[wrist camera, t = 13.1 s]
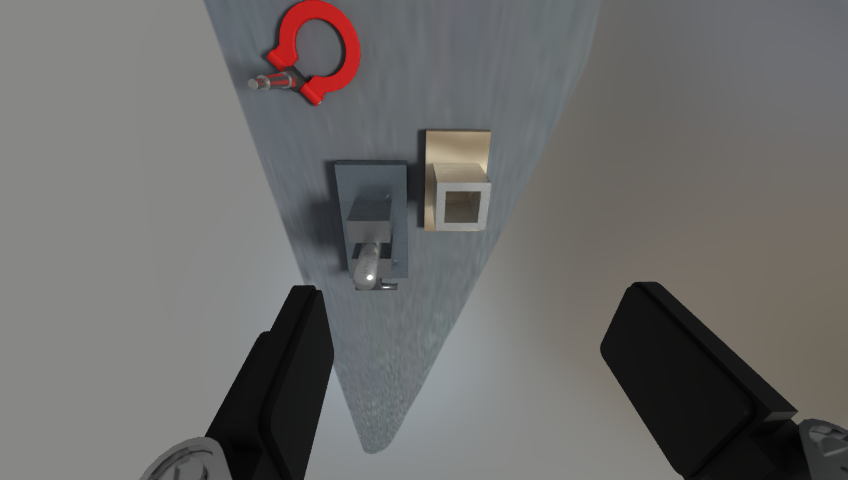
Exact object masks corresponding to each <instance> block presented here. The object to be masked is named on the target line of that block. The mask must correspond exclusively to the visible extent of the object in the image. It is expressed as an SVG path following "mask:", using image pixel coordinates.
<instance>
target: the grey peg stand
mask: <svg viewBox="0 0 848 480" xmlns="http://www.w3.org/2000/svg"><path fill="white" fill-rule="evenodd" d="M334 166H335V173H336V180H337V188H338V195H339V202H340V210H341V217H342V224H343V232H344V239H345V247H346V254H347V261H348V269H349V276H350V278H353V284H354V285H355V287H356V290H397V283H382V278H408V243H407V161H382V160H337V162H336V163H335V165H334Z"/></svg>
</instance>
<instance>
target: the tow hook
mask: <svg viewBox="0 0 848 480" xmlns="http://www.w3.org/2000/svg"><path fill="white" fill-rule="evenodd" d="M312 19H323V20H326V21H328V22H330V23H331V24H333V25H334V26H335V27H336V28H337V29H338V30H339V32H340V34H341V35H342V37H343V40H344V43H345V48H346V57H345V62H344V64H343V67H342V68H341V69H340V70H339V72H337V73H336V74H335V75H333V76H330V77H320V76H313V78H312V79H311V80H310V81H308V80H307V79H306V78H305V77H304V76H303V75H302V74H301V73H300V72H299V71H298V70H297V69H296V68H295V67H294V66H293V65H294V63H295V62H296V61H297V60H298V54H297V51H296V45H295V44H296V36H297V33H298V30H299V29H300V27H301V26H302V25H303V24H304V23H305V22H307V21H309V20H312ZM267 59H268V60H269V61H270V62H271V63H272V64H273V65H274V66H275V67H276V68H277V69H278V70H279V71H280V73H277V74H270V75H259V76H257V78H254V79H249V80H248V86H249V87H250V88H251V89H254V90H255V89H261V90H264V91H266V90H271V89H277V88H283V89H286V88H291V89H292V90H293V91H294V92H299V91H301V92H302V93H303V94H304V95H305V96H306V97H307V98H308V99H309V100H310V101H311V102H312V103H313V104H314V105H315V106H317V105H319V104H320V103H321V102H322V100H323V98H324V97H323V96H324V95H325V93H326V92H332V91H335V90H338V89H341V88H343V87H344V86H346V85H347V84H348V83H349V82H350V81H351V80H352V79H353V77H354V76H355V74H356V72H357V69H358V67H359V62H360V44H359V40H358V37H357V34H356V31H355V29H354V28H353V26H352V24H351V22H350V21H349V20H348V19H347V17H346V16H345V15H344V14H343V13H342V12H341V11H340V10H338V9H337V8H335V7H334V6H332V5H331V4H329V3H326V2H323V1H320V0H307V1H304V2H301V3H298V4H296V5H295V6H294V7H292V8H291V9H290V10H289V11H288V13H287V14H286V16H285V17H284V19H283V21H282V24H281V28H280V34H279V45H278V47H277V48H276V49H273V50H272V51H271V52H270V53H269V54H268V56H267Z"/></svg>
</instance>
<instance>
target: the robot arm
mask: <svg viewBox="0 0 848 480" xmlns="http://www.w3.org/2000/svg"><path fill="white" fill-rule="evenodd" d="M600 351H601V355H602V357H603V359H604V360H605V361H606V363H607V365H608V366H609V368H610V369H611V371H612V373H613V374H614V376H615V377H616V379H617V381H618V382H619V384H620V385H621V387H622V389H623V390H624V392H625V393H626V395H627V396H628V398H629V400H630V401H631V403H632V404H633V406H634V407H635V409H636V411H637V412H638V414H639V415H640V417H641V418H642V420H643V422H644V423H645V425H646V426H647V428H648V430H649V431H650V433H651V434H652V436H653V437H654V439H655V441H656V442H657V444H658V445H659V447H660V448H661V450H662V452H663V453H664V455H665V456H666V458H667V460H668V461H669V463H670V464H671V466H672V467H673V468H674V470H675V471H676V472H677V473H678V474H680V475H682V476H683V478H684V480H848V430H846V429H844V428H842V427H840V426H838V425H835V424H832V423H830V422H827V421H824V420H818V419H813V418H812V419H805V420H803V421H802V422H800V423H799V424H798V425H797V424H795V423H794V422H793V421H792V420H791V419H790V418H792V417H793V416H794V415H795V414H796V413H797V412H798V411H797V410H796V409H795V408H794V407H793V406H792V405H791V404H790V403H789V402H788V401H787V400H786V399H784V398H783V397H782V396H781V395H780V394H779V393H778V392H777V391H776V390H775V389H774V388H772V387H771V386H770V385H769V384H768V383H767V382H766V381H765V380H764V379H763V378H762V377H761V376H759V375H758V374H757V373H756V372H755V371H754V370H753V369H752V368H751V367H750V366H749V365H748V364H746V363H745V362H744V361H743V360H742V359H741V358H740V357H739V356H738V355H737V354H736V353H735V352H733V351H732V350H731V349H730V348H729V347H728V346H727V345H726V344H725V343H724V342H723V341H722V340H720V339H719V338H718V337H717V336H716V335H715V334H714V333H713V332H712V331H710V329H709V328H707V327H706V326H705V325H704V324H703V323H702V322H701V321H700V320H699V319H698V318H696V317H695V316H694V315H693V314H692V313H691V312H690V311H689V310H688V309H687V308H686V307H685V306H684V305H682V304H681V303H680V302H679V301H678V300H677V299H676V298H675V297H674V296H673V295H672V294H671V293H669V292H668V291H667V290H666V289H665V288H664V287H663V286H662V285H661V284H659V283H657V282H635V283H633V284H632V285H631V286H630V287H628V288H627V289H626V291H625V293H624V296H623V298H622V300H621V302H620V304H619V306H618V309H617V311H616V313H615V315H614V317H613V319H612V321H611V324H610V326H609V328H608V330H607V332H606V334H605V337H604V339H603V341H602V343H601V346H600ZM333 360H334V348H333V343H332V338H331V333H330V328H329V323H328V318H327V313H326V308H325V303H324V298H323V294H322V291H321V290H316V287H315V286H314V285H303V286H302V285H297V286H296V285H295V286H293V287H292V289H291V291H290V293H289V294H288V297H287V299H286V300H285V302H284V304H283V306H282V308H281V310H280V312H279V314H278V316H277V318H276V320H275V322H274V324H273V326H272V328H271V330H270V331H266V332H263V333H261V334H260V335H259V337H258V338H257V340H256V342H255V343H254V345H253V347H252V349H251V351H250V353H249V355H248V356H247V358H246V360H245V362H244V364H243V366H242V368H241V370H240V371H239V373H238V375H237V377H236V379H235V381H234V383H233V384H232V386H231V388H230V390H229V392H228V394H227V395H226V397H225V399H224V401H223V403H222V405H221V407H220V408H219V410H218V412H217V414H216V416H215V418H214V420H213V422H212V423H211V425H210V427H209V429H208V431H207V433H206V435H205V437H197V438H192V439H188V440H185V441H183V442H181V443H179V444H177V445H175V446H173V447H172V448H170V449H169V450H167V451H166V452H165V453H163V454H162V455H160V456H159V457H158V458H157V459H156V460H155V461H154V462H153V463H152V464H151V465H150V466H149V467H148V468H147V470H146V471H145V472H144V474H143V475H142V477H141V478H140V480H304V476H305V472H306V469H307V465H308V461H309V457H310V453H311V449H312V445H313V441H314V437H315V432H316V429H317V425H318V421H319V417H320V413H321V409H322V404H323V401H324V397H325V393H326V389H327V385H328V381H329V377H330V373H331V369H332V365H333Z"/></svg>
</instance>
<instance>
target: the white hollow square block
mask: <svg viewBox="0 0 848 480" xmlns="http://www.w3.org/2000/svg"><path fill="white" fill-rule="evenodd" d="M490 190H491V181H490V180H489V178H488V176H487V175H486V173H485V172H484V170H483V169H482V167H481V165H480V164H479V163H433V187H432V210H433V217H434V224H435V230H485V227H486V219H487V212H488V205H489V197H490ZM446 191H469V196H468V199H445V198H446Z"/></svg>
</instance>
